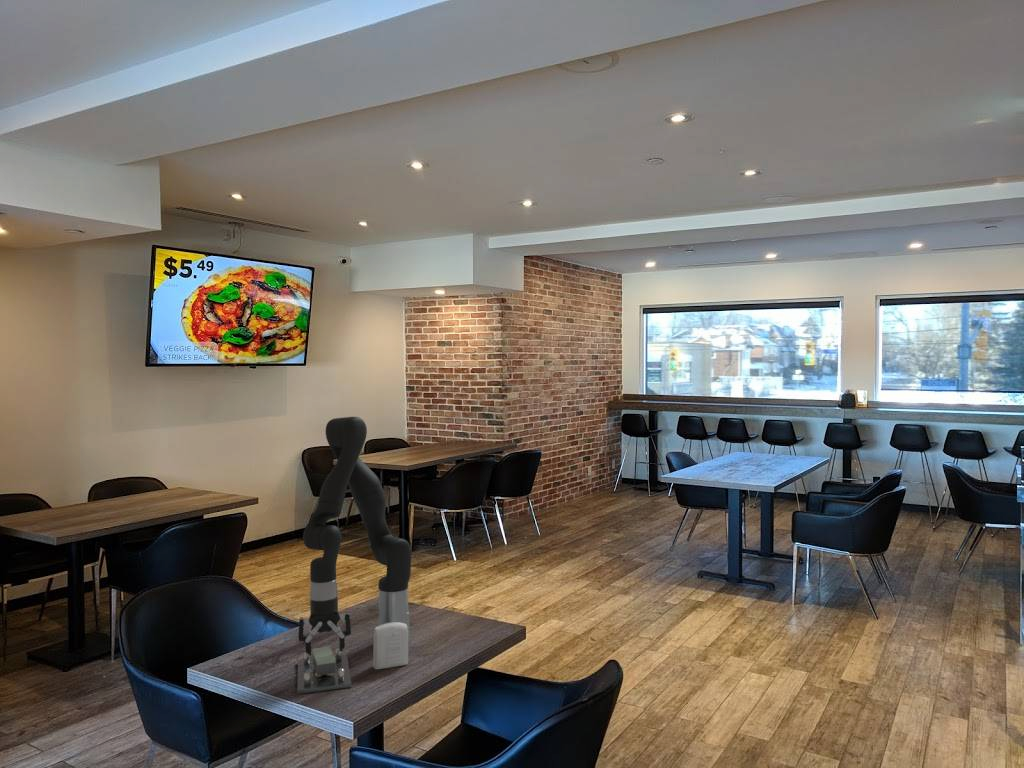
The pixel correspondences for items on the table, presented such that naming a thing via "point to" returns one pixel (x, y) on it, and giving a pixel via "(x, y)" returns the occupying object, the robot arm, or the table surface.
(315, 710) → the table surface
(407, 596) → the robot arm
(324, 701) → the table surface
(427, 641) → the table surface
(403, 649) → the photo printer
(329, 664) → the grey green block
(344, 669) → the plate
